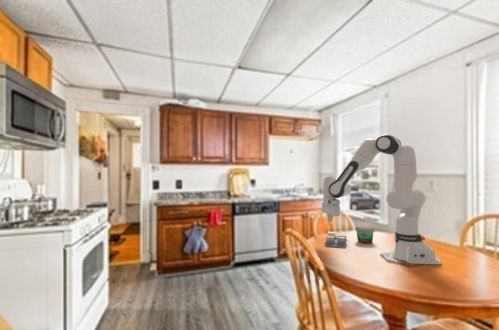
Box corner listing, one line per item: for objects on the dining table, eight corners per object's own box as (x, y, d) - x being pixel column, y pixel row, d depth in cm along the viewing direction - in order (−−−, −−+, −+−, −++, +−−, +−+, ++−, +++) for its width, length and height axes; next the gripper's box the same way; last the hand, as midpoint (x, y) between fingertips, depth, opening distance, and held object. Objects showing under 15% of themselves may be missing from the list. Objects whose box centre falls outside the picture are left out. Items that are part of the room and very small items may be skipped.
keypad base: (346, 238, 198) (346, 235, 198) (346, 248, 172) (346, 244, 172) (327, 236, 203) (327, 233, 203) (325, 246, 176) (325, 243, 176)
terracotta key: (334, 240, 183) (334, 236, 183) (333, 241, 179) (333, 237, 179) (327, 239, 185) (327, 235, 185) (326, 241, 180) (326, 237, 180)
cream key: (334, 235, 196) (334, 231, 196) (334, 236, 192) (334, 233, 192) (328, 235, 198) (328, 231, 198) (328, 236, 194) (328, 232, 194)
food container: (356, 243, 183) (356, 228, 184) (355, 241, 189) (355, 227, 190) (376, 244, 180) (375, 229, 180) (374, 242, 186) (374, 227, 186)
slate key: (345, 241, 181) (345, 237, 181) (345, 242, 177) (345, 238, 177) (338, 240, 182) (338, 236, 182) (337, 242, 178) (337, 238, 178)
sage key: (345, 238, 194) (345, 234, 194) (345, 239, 190) (345, 236, 190) (338, 237, 195) (338, 234, 196) (338, 239, 191) (338, 235, 191)
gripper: (319, 198, 192) (319, 218, 192) (332, 202, 172) (332, 223, 172) (327, 198, 193) (327, 217, 193) (341, 201, 173) (341, 223, 173)
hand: (330, 220), depth 182 cm, fingers closed
